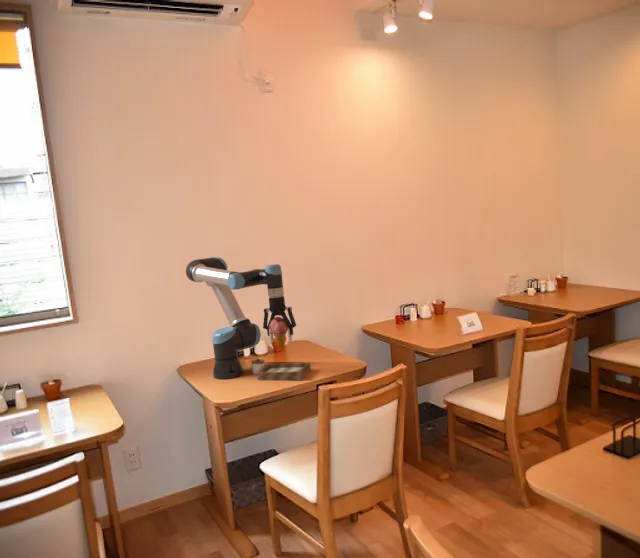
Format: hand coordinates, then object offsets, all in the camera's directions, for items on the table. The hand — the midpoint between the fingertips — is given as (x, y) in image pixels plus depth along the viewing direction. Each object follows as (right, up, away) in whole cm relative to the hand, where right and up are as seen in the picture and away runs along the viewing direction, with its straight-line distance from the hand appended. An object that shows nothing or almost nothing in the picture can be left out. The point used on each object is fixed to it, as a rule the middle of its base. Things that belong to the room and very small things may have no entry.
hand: (281, 342), depth 273 cm
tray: (+2, -17, +2) cm, 17 cm away
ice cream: (+1, -3, 0) cm, 3 cm away
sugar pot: (-12, -17, +10) cm, 23 cm away
